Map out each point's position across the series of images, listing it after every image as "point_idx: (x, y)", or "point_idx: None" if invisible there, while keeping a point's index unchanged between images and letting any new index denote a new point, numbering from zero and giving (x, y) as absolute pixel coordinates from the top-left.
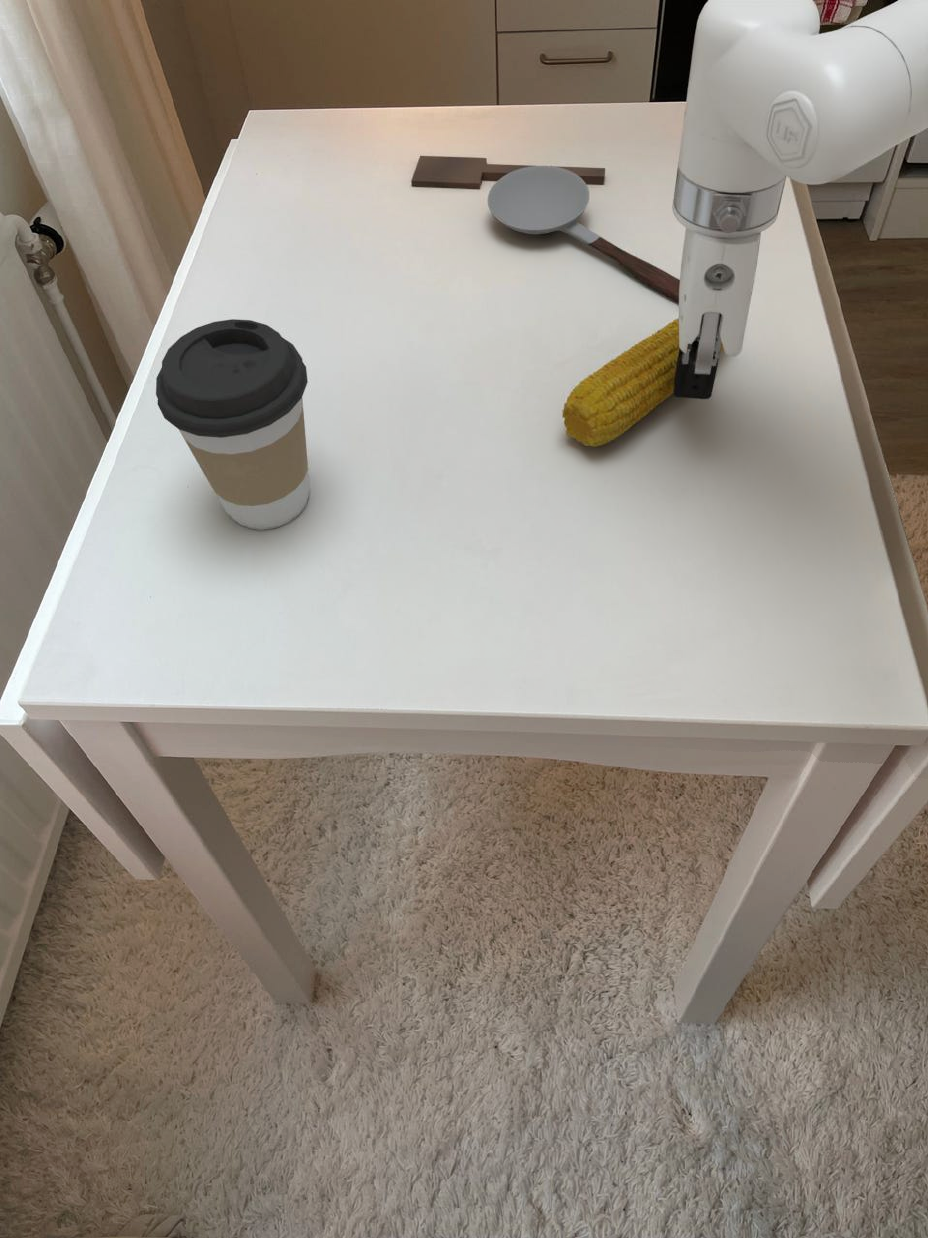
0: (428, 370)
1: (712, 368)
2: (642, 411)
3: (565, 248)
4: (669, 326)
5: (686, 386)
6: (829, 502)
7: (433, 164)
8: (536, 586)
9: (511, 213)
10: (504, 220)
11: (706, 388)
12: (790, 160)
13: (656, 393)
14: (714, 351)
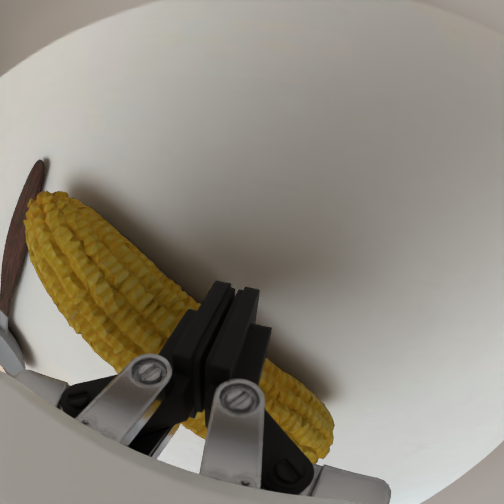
0: (189, 452)
1: (236, 358)
2: (275, 378)
3: (18, 325)
4: (90, 345)
5: (262, 369)
6: (483, 76)
7: (7, 371)
8: (467, 423)
9: (13, 353)
10: (21, 365)
11: (252, 317)
12: None
13: None
14: (282, 479)
